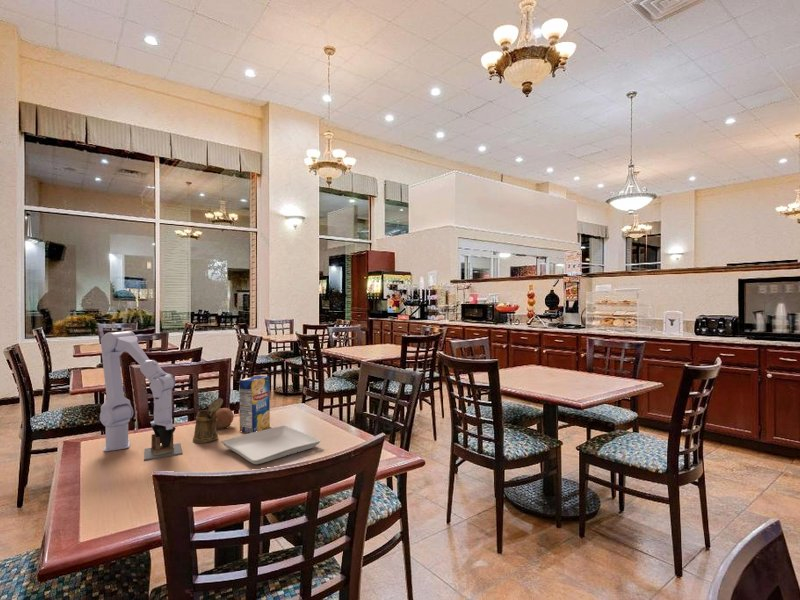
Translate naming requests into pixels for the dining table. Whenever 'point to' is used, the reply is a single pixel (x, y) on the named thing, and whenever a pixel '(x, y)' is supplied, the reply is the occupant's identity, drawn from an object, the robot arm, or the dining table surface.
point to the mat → (150, 455)
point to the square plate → (270, 444)
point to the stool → (159, 449)
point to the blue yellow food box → (254, 403)
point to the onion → (224, 418)
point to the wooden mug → (207, 423)
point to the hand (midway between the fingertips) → (163, 445)
